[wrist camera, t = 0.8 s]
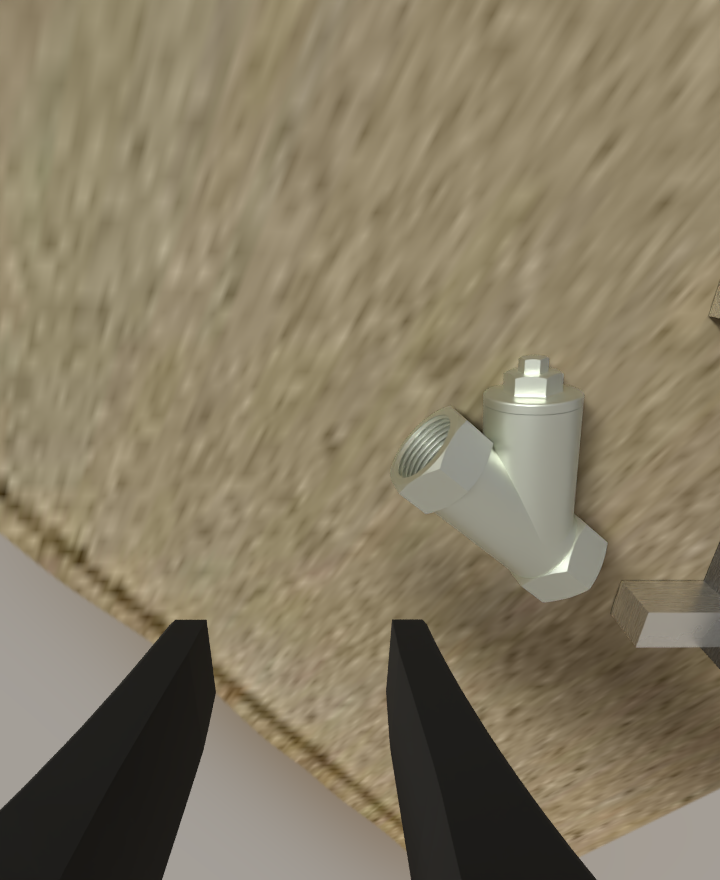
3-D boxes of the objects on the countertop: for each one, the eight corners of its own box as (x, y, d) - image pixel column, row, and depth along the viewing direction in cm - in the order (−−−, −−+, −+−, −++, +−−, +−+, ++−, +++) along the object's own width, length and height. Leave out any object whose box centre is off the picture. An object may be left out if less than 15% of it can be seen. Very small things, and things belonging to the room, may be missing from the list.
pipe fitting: (500, 328, 17) (383, 460, 18) (553, 340, 13) (400, 504, 14) (626, 452, 19) (514, 561, 20) (701, 492, 15) (558, 622, 17)
